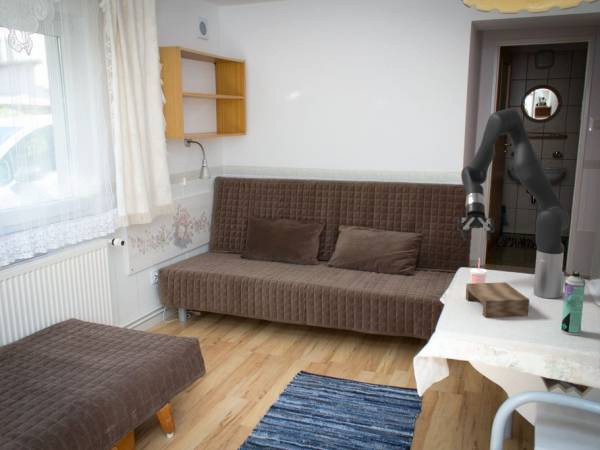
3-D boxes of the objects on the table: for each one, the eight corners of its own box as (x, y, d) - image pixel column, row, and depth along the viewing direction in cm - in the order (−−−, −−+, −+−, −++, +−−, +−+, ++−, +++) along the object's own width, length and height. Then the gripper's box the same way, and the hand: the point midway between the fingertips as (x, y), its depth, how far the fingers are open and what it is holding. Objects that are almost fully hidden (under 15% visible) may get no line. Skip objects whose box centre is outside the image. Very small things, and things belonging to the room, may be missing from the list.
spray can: (576, 328, 178) (581, 269, 174) (582, 335, 173) (589, 274, 169) (558, 328, 179) (563, 269, 175) (564, 335, 173) (570, 274, 169)
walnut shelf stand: (504, 297, 208) (505, 282, 207) (528, 316, 190) (529, 299, 188) (465, 298, 207) (466, 283, 206) (485, 317, 189) (486, 300, 188)
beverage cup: (487, 295, 211) (490, 259, 208) (471, 295, 211) (473, 260, 208) (482, 290, 217) (484, 255, 214) (467, 290, 217) (469, 255, 214)
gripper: (458, 200, 228) (459, 234, 220) (494, 201, 226) (496, 235, 217) (456, 211, 234) (457, 243, 226) (491, 212, 232) (493, 245, 223)
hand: (476, 239), depth 222 cm, fingers open, 8 cm apart
